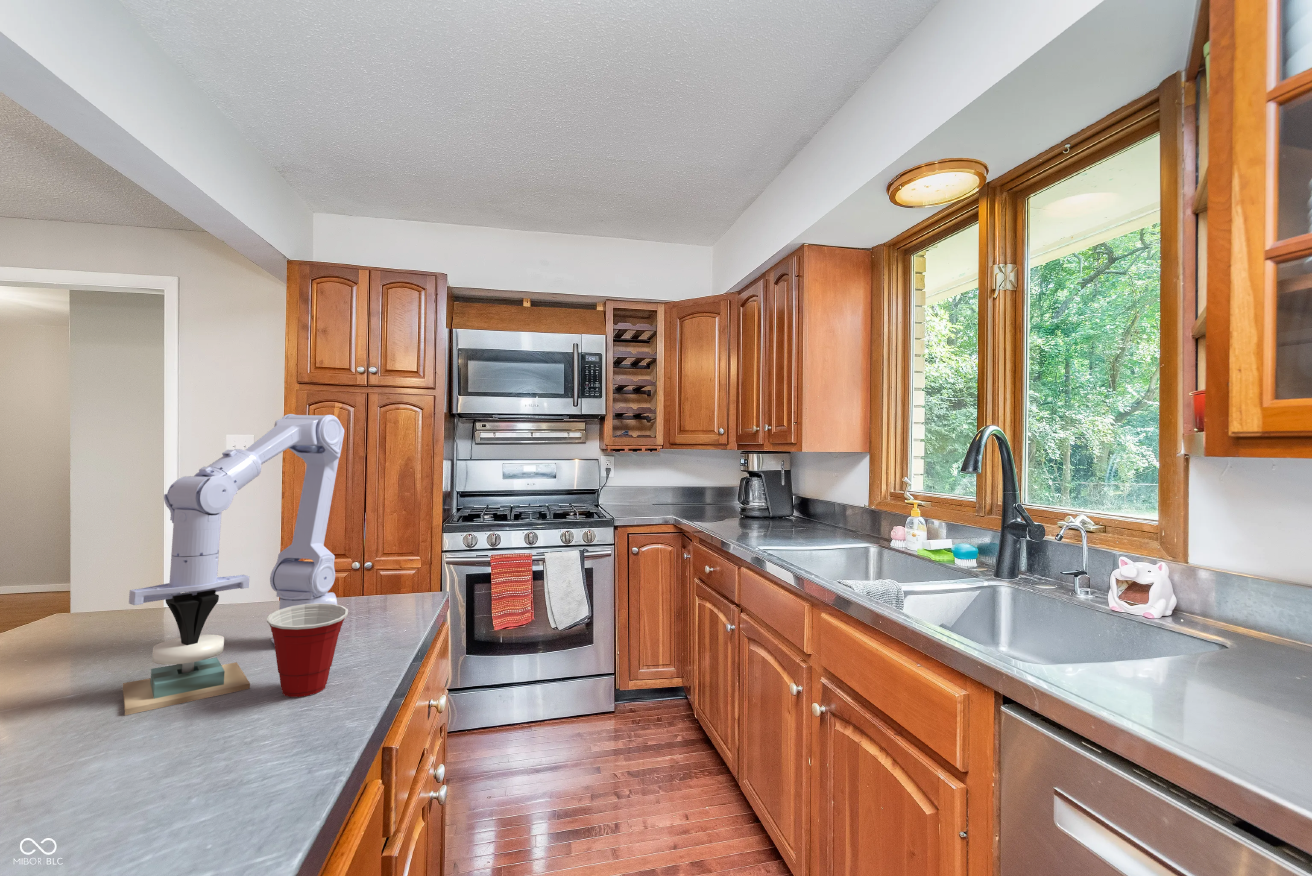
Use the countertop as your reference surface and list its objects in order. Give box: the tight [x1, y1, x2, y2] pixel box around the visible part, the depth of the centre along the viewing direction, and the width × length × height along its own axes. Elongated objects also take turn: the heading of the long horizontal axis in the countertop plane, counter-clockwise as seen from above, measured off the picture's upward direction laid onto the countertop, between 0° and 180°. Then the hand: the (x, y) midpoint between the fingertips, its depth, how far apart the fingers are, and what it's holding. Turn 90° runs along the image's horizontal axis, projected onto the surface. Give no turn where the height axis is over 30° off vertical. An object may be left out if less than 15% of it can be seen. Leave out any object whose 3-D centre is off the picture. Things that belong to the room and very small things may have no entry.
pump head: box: [151, 634, 225, 673], centre depth 86 cm, size 8×8×4 cm
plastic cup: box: [266, 603, 349, 698], centre depth 87 cm, size 11×11×12 cm
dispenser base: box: [122, 656, 251, 716], centre depth 86 cm, size 14×12×3 cm
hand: (189, 643), depth 86 cm, fingers closed, pressing on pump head
